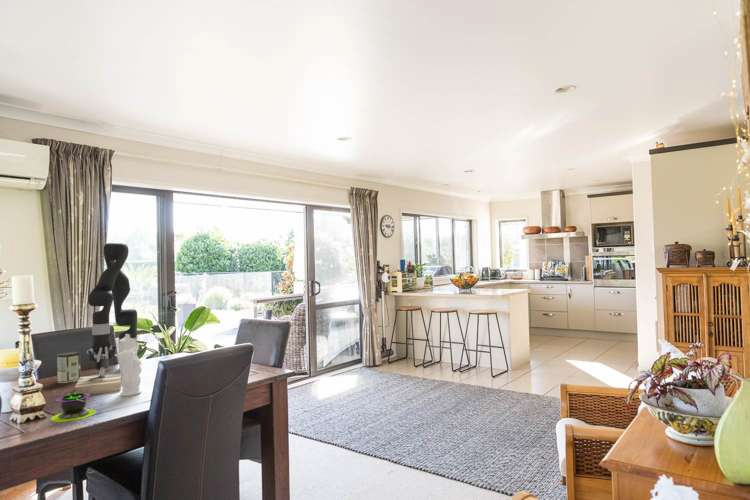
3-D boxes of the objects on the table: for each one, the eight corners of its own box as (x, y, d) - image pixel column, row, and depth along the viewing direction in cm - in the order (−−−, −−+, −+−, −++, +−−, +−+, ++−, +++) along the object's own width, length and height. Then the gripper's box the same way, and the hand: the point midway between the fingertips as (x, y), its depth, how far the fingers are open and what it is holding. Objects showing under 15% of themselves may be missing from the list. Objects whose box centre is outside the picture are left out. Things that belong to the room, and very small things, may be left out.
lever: (98, 376, 234) (98, 357, 235) (109, 376, 233) (109, 358, 234) (83, 381, 225) (83, 361, 226) (95, 381, 224) (94, 361, 225)
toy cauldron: (102, 414, 187) (101, 385, 188) (57, 425, 176) (57, 394, 176) (88, 407, 197) (87, 380, 197) (45, 417, 186) (44, 388, 186)
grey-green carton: (67, 378, 252) (66, 351, 253) (85, 378, 251) (85, 351, 252) (52, 383, 242) (51, 355, 243) (71, 383, 241) (70, 354, 242)
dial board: (79, 385, 236) (79, 376, 236) (121, 380, 244) (121, 371, 244) (74, 396, 215) (74, 387, 215) (120, 390, 223) (120, 381, 223)
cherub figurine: (130, 397, 210) (129, 347, 210) (106, 397, 213) (104, 347, 213) (149, 390, 222) (147, 342, 222) (125, 389, 225) (124, 342, 225)
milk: (124, 378, 249) (123, 335, 249) (120, 376, 253) (118, 334, 253) (136, 375, 253) (135, 333, 253) (132, 374, 257) (131, 332, 258)
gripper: (111, 330, 241) (111, 365, 241) (81, 334, 229) (82, 371, 229) (119, 331, 237) (120, 366, 237) (90, 335, 225) (90, 372, 225)
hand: (101, 368), depth 233 cm, fingers closed on lever, 3 cm apart
